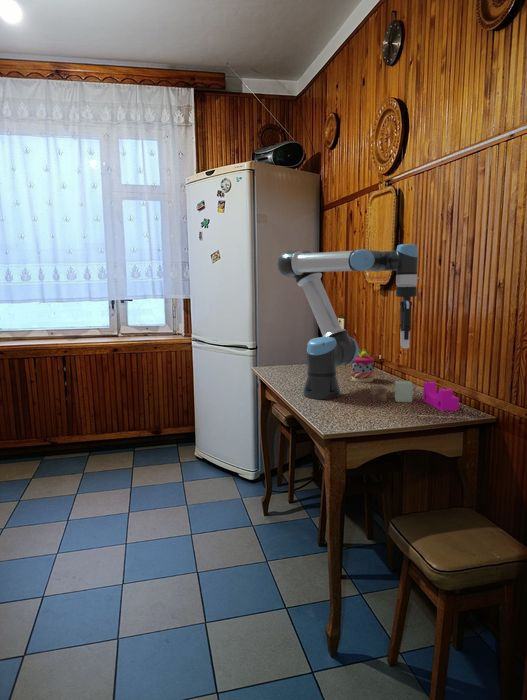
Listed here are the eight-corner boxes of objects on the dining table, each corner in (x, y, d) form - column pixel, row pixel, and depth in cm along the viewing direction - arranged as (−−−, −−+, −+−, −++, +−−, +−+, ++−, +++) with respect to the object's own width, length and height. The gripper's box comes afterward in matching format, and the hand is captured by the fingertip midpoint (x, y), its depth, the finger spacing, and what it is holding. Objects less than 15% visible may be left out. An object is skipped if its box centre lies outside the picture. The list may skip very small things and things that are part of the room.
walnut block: (373, 401, 181) (373, 388, 180) (370, 398, 186) (370, 386, 185) (386, 401, 181) (386, 388, 180) (383, 398, 186) (383, 386, 185)
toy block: (458, 410, 167) (459, 390, 166) (442, 411, 166) (442, 390, 165) (438, 400, 182) (439, 381, 181) (423, 401, 181) (423, 382, 180)
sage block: (395, 401, 180) (396, 383, 179) (394, 398, 186) (395, 380, 185) (412, 402, 179) (412, 384, 178) (410, 398, 185) (410, 381, 184)
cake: (378, 382, 216) (379, 350, 214) (360, 384, 211) (360, 351, 209) (364, 378, 225) (364, 347, 223) (346, 380, 221) (346, 349, 219)
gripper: (420, 286, 167) (418, 350, 170) (413, 285, 185) (411, 344, 188) (398, 286, 168) (396, 350, 171) (394, 286, 186) (392, 343, 189)
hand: (404, 346), depth 180 cm, fingers open, 6 cm apart
